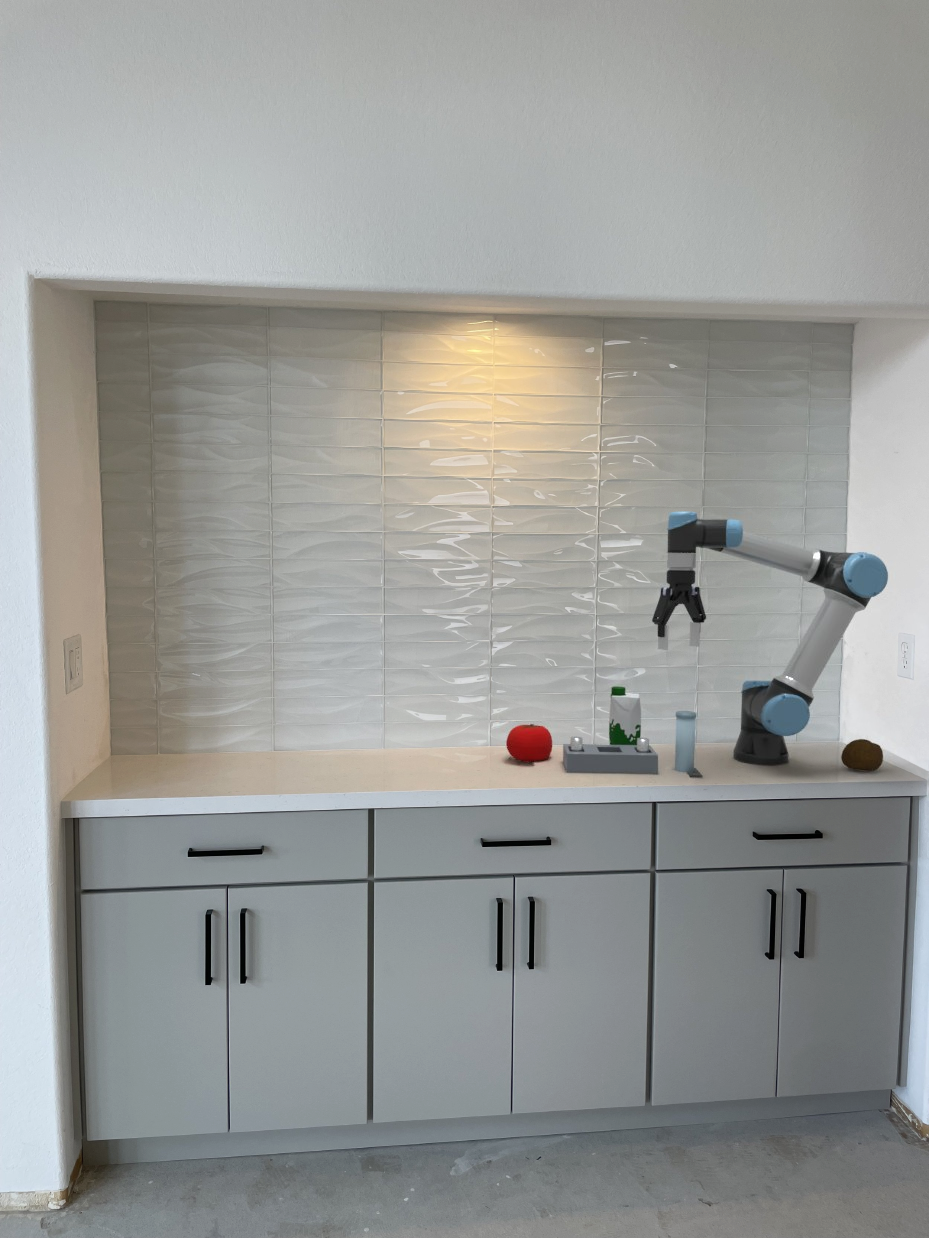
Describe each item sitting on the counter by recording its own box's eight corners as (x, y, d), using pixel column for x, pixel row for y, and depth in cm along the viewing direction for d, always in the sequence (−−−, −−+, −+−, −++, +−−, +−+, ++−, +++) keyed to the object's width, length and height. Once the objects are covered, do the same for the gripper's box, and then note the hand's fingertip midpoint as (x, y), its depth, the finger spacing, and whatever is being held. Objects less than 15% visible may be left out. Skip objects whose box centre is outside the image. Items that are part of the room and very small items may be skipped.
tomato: (544, 768, 247) (545, 730, 246) (500, 764, 251) (500, 727, 250) (557, 757, 260) (558, 721, 259) (515, 753, 265) (516, 718, 264)
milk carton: (609, 751, 268) (610, 684, 266) (640, 753, 266) (642, 686, 265) (607, 758, 260) (609, 689, 258) (639, 759, 258) (641, 690, 256)
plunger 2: (647, 762, 245) (648, 737, 245) (649, 765, 242) (650, 740, 242) (635, 762, 245) (636, 737, 245) (637, 765, 242) (638, 740, 242)
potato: (892, 774, 245) (894, 742, 244) (849, 774, 244) (851, 742, 243) (877, 766, 253) (878, 736, 252) (835, 766, 252) (837, 736, 252)
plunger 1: (581, 761, 246) (581, 736, 245) (582, 764, 243) (583, 739, 242) (569, 760, 246) (570, 736, 245) (570, 763, 243) (571, 738, 242)
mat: (695, 770, 247) (695, 767, 247) (702, 777, 239) (702, 775, 239) (666, 769, 247) (666, 767, 247) (672, 777, 239) (672, 774, 239)
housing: (649, 766, 250) (650, 745, 249) (657, 777, 238) (658, 755, 237) (562, 765, 250) (563, 743, 250) (566, 776, 238) (567, 753, 238)
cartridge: (698, 771, 242) (700, 713, 241) (686, 774, 239) (688, 715, 238) (682, 767, 246) (684, 710, 245) (669, 770, 243) (671, 712, 242)
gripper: (697, 568, 253) (695, 643, 254) (639, 569, 237) (637, 649, 239) (720, 569, 247) (718, 646, 249) (662, 570, 231) (660, 652, 233)
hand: (678, 647), depth 244 cm, fingers open, 13 cm apart
